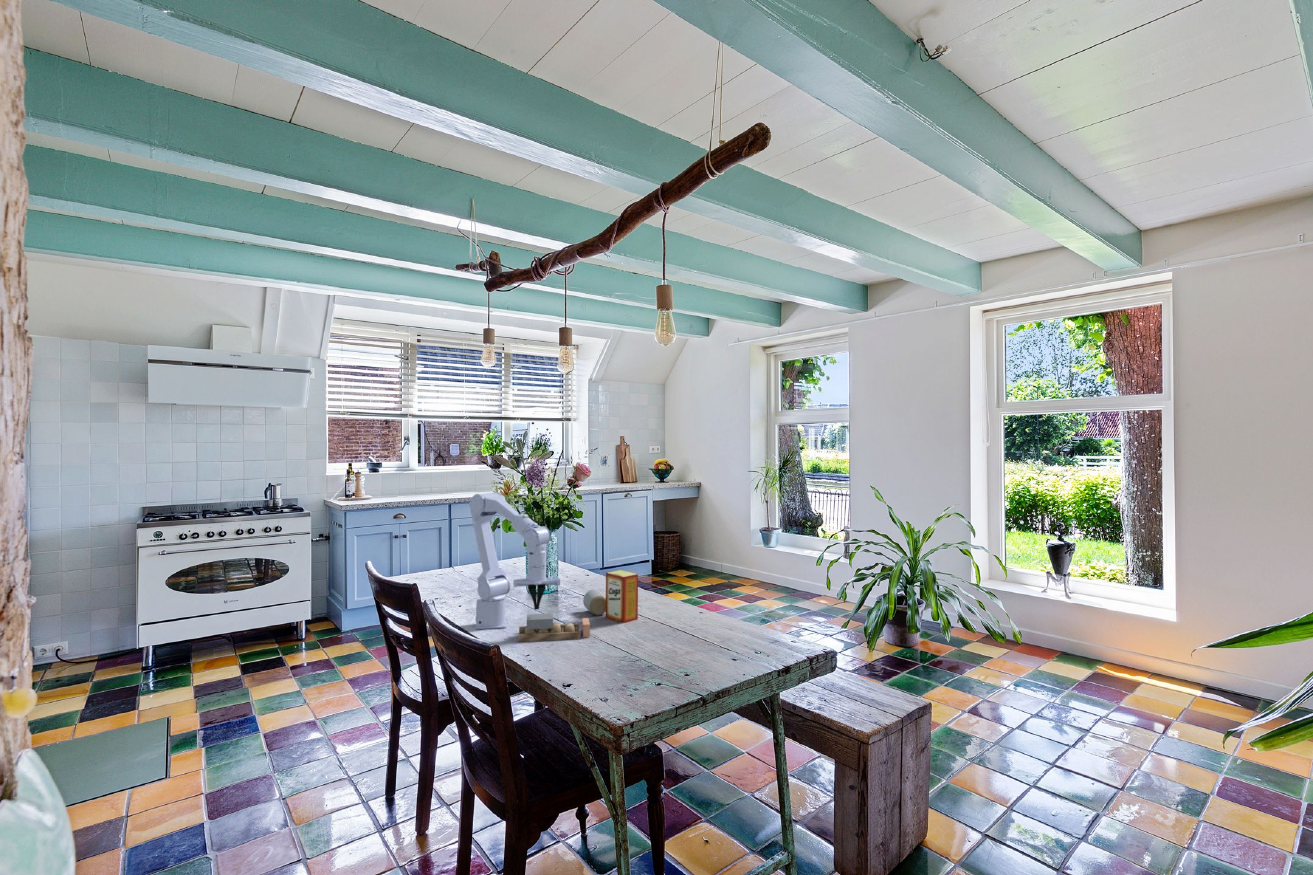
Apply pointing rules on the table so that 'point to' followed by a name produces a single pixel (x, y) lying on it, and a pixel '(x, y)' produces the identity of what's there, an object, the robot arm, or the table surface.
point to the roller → (569, 627)
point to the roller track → (544, 634)
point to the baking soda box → (622, 596)
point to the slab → (539, 621)
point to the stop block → (585, 627)
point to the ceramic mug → (595, 602)
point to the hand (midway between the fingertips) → (536, 608)
